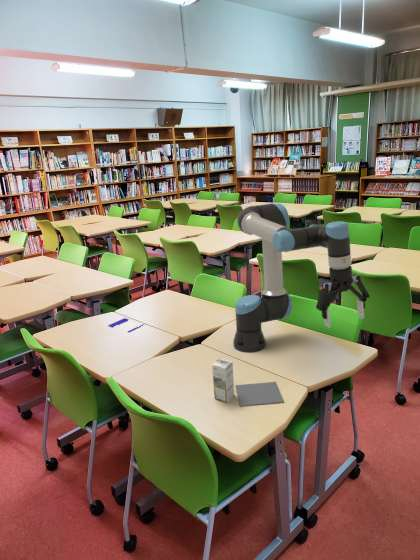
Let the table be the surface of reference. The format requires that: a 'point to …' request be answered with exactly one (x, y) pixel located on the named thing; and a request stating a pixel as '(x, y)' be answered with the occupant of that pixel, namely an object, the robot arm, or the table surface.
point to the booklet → (123, 322)
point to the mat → (258, 394)
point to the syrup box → (223, 380)
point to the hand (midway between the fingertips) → (344, 321)
